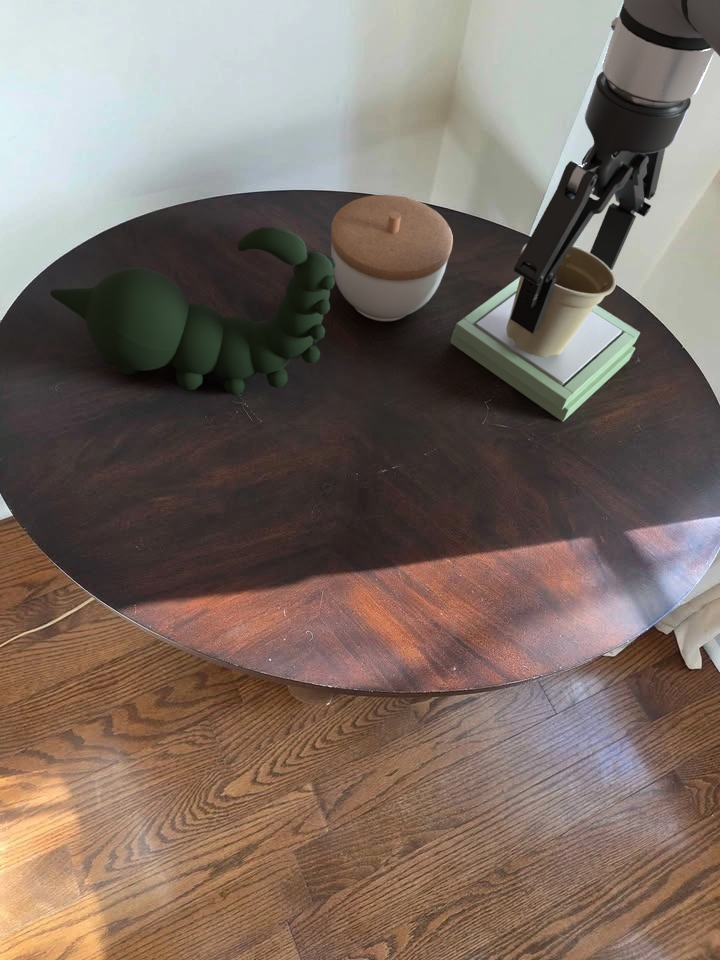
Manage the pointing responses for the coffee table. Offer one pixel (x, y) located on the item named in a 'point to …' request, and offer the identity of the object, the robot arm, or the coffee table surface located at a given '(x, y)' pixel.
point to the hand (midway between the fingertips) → (563, 293)
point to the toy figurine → (207, 320)
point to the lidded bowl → (389, 254)
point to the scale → (530, 378)
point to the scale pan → (574, 357)
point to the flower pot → (565, 303)
